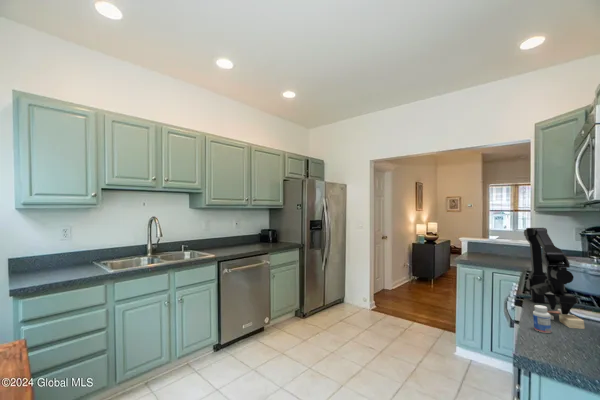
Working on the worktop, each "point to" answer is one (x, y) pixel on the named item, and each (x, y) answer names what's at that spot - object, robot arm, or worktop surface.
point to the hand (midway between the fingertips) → (558, 313)
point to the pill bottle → (541, 319)
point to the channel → (555, 312)
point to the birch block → (571, 321)
